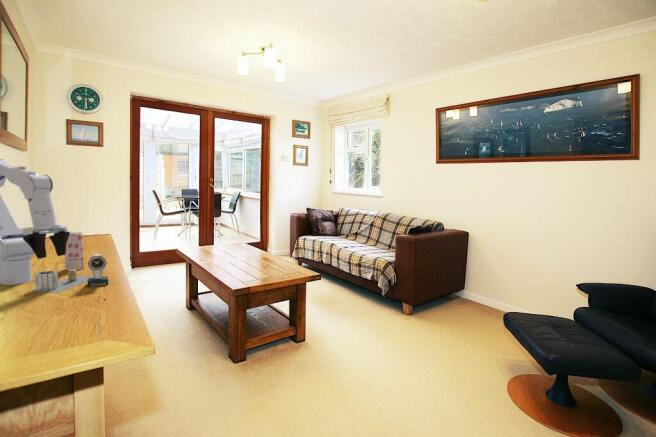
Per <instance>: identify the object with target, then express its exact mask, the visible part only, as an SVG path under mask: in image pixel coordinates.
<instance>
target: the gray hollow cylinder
mask: <svg viewBox="0 0 656 437" xmlns="http://www.w3.org/2000/svg"><path fill="white" fill-rule="evenodd" d="M58 273H59V272H58V271H57V270H43V271H38V272H36V273H34V282H35V284H34V285H35V289H36V291H50V290H54V289H57V288H58V281H59V279H58V277H59V276H58Z"/></svg>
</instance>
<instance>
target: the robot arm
mask: <svg viewBox="0 0 656 437" xmlns="http://www.w3.org/2000/svg"><path fill="white" fill-rule="evenodd" d="M6 180H7V181H8V182H9V183H10V184H13V185H14V186H17V187H18V188H19V189H20V191H21V193H22V194H23V197H24V199H25V200H27V203H28V209H29V213H30V218H31V222H32V226H29V227H25V228H19V227H18V225H17V223H16V221H15V220H14V218H13V215H12V214H11V212H10V210H9V208H8V206H7V204H6V202H5V200H4V198H3V196H2V194H1V193H0V285H4V286H14V285H15V286H16V285H21V284H22V285H23V284H27V283H30V282H32V281H33V279H32V262H31V260H32V259H31V258H33V257H34V255H35V256H36V258H37V259H38V260H41V259H46V258H47V249H46V248H47V247H46V236H47V235H49V234H53V235H49V236H48V238H49V240H50V241H51V243H52V244H53V247H54V251H55V253H56V255H57V257H61V256H65V254H66V244H67V240H68V237H69V235H70V232H71V231H68V228H67V226H66V225H64V226H63V225H61V224H58V223H57V218H56V215H55V214H56V213H55V209H54V203H53V200H52V195H51V192H52V191H53V188H54V182H53V179H52V177H51V176H50V175H48V174H38V173H36V171H35V170H34V171H33V170H29V169H27V167H26V166H25V165H18V166H13V165H11V164H10V163H9V162H8V160H5V159H3V158H0V188H2V187H4V186H5V183H6Z"/></svg>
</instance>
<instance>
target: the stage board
mask: <svg viewBox="0 0 656 437" xmlns="http://www.w3.org/2000/svg"><path fill="white" fill-rule="evenodd" d="M92 277H93V275H82V274H81V275H80V274H79V275H77V281H73V282H69V277H66V278H64V279H62V280H58V288H57V289H54V290H50V291H36V288H35V289H32V290H29V291H28V293H48V294H50V293H51V294H52V293H53V294H58V293H61V292H63V291H66V290H68V289H69V290H70V289H71V288H74V287H77V286H80V285H82V284H85V283H88V278H92Z"/></svg>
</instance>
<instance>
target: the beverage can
mask: <svg viewBox="0 0 656 437" xmlns="http://www.w3.org/2000/svg"><path fill="white" fill-rule="evenodd" d="M69 232H70V235H69V237H68V240H67V244H66V254H65V255H64V268H65V269H64V270H65V271H67V272H68V270H73V269H76V271H80V270H83V269H84V266H85V265H84V244H83V243H84V242H83V233H82V231H69Z"/></svg>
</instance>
